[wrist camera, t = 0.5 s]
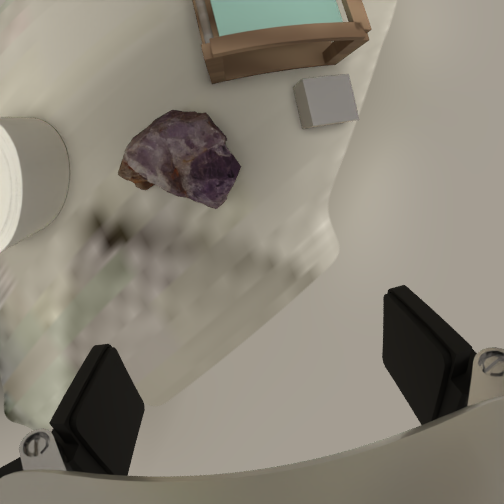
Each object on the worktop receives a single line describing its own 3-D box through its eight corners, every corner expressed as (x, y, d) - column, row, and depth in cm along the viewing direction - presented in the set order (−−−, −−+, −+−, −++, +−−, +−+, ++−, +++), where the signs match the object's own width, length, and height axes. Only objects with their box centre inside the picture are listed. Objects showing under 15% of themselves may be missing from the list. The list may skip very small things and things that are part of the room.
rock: (213, 209, 37) (244, 129, 34) (221, 233, 29) (261, 131, 26) (119, 180, 33) (147, 97, 30) (100, 197, 26) (134, 89, 23)
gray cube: (292, 87, 32) (302, 78, 27) (333, 82, 32) (348, 74, 27) (302, 129, 34) (313, 126, 29) (342, 122, 33) (359, 119, 29)
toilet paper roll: (64, 242, 36) (20, 273, 26) (-13, 221, 34) (-60, 243, 24) (80, 121, 31) (31, 116, 21) (-4, 116, 29) (-55, 116, 19)
